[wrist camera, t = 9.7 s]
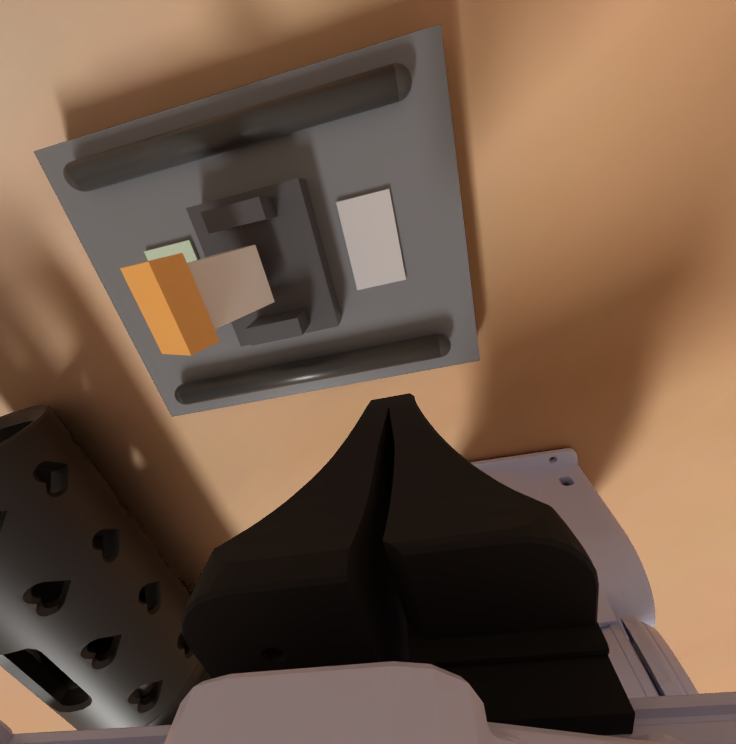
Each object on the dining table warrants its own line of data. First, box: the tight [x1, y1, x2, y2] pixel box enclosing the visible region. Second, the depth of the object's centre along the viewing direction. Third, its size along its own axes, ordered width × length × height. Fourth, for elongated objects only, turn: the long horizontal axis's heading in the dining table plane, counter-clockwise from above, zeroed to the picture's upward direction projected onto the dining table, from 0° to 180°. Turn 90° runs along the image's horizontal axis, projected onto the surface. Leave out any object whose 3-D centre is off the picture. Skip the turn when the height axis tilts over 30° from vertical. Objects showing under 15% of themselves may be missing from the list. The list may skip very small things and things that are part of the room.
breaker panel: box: [34, 24, 480, 417], centre depth 18 cm, size 18×14×5 cm
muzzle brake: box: [0, 406, 212, 730], centre depth 26 cm, size 10×28×10 cm, turn 17°
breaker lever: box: [120, 245, 275, 356], centre depth 14 cm, size 2×3×4 cm, turn 13°
